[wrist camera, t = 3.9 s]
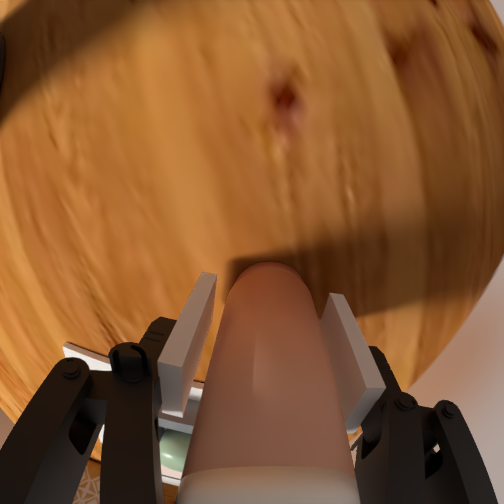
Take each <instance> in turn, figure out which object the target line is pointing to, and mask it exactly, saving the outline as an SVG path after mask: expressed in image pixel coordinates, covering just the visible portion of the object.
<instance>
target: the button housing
mask: <svg viewBox="0 0 504 504" xmlns="http://www.w3.org/2000/svg"><path fill="white" fill-rule="evenodd" d="M199 403H200V401H196V400H191V399H188V401H187V404H186V408H185V411H184V414H183V418H182V417H178V416H173V415H170V414H166V413H162V407H161V408H160V410H159V413H158V420H159V443H160V441H161V438H162V435H163V432H164V431H165V430H164V428H168V429H172V430H176V431H180V432H185V433H189V434H192V431H193V427H194V423H195V419H196V415H197V411H198V407H199Z"/></svg>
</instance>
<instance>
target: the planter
mask: <svg viewBox="0 0 504 504" xmlns="http://www.w3.org/2000/svg"><path fill="white" fill-rule="evenodd" d="M100 468H101V464H100V463H97V462H95V461H92V460H90V459H89V460H88V463H87V465H86V468H85V471H84V473H83V476H82V478H81V481H80V484H79V487H78V489H77V492H76V495H75V498H74V501H73V503H72V504H100Z"/></svg>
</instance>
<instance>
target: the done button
mask: <svg viewBox="0 0 504 504" xmlns="http://www.w3.org/2000/svg"><path fill="white" fill-rule="evenodd" d="M191 435H192V434H189V433H185V432H180V431H176V430H172V429H166V430H165V431H164V432H163V435H162V438H161V441H160V460H161V464H162V465H163V466H165V467H167V468H169V469H172V470H175V471H178V472H183V468H184V464H185V460H186V456H187V452H188V447H189V443H190V439H191Z"/></svg>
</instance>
